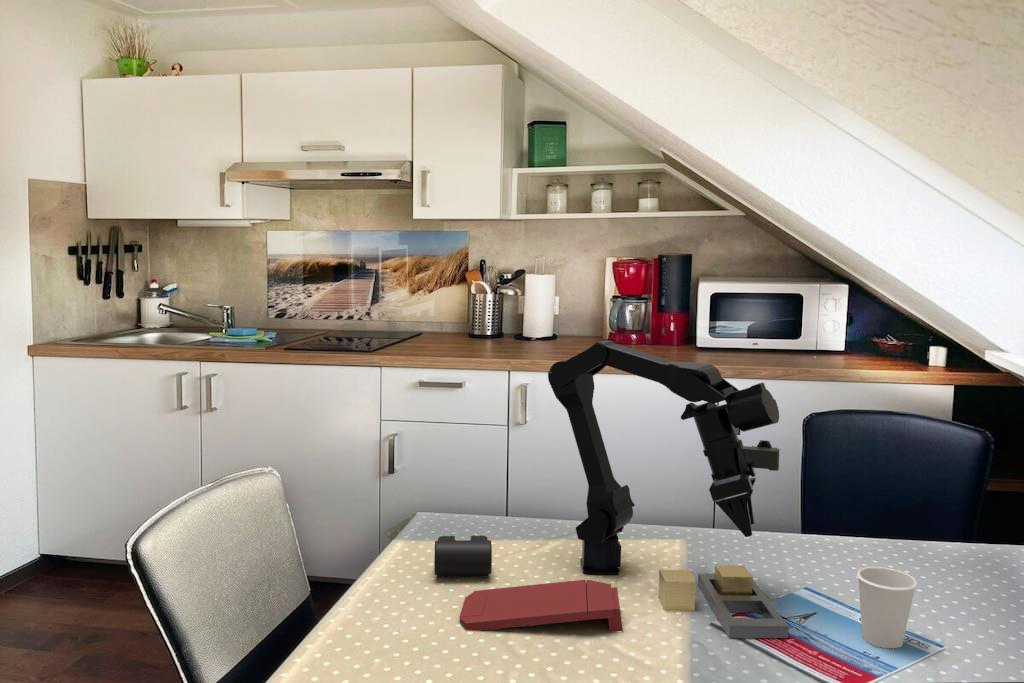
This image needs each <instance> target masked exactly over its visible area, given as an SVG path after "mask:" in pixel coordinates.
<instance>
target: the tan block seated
mask: <svg viewBox="0 0 1024 683" xmlns="http://www.w3.org/2000/svg"><path fill="white" fill-rule="evenodd" d="M714 574H715V575H714V589H715V590H716V592H717V593H718V595H743V596H752V583H753V580H754V579H753V578H754V577H753V575H752V574H751V573H750V571H749V570H748V569H747V568H746V566H745V565H742V564H741V565H739V564H738V565H737V564H735V565H732V564H730V565H729V564H723V565H721V564H720V565H719V564H714Z"/></svg>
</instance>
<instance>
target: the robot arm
mask: <svg viewBox="0 0 1024 683" xmlns="http://www.w3.org/2000/svg"><path fill="white" fill-rule="evenodd" d="M606 367H610V368H611V369H612V368H613V369H616V370H619V371H622V372H624V373H628V374H631V375H634V376H637V377H639V378H640V377H641V378H643V379H646V380H649V381H651V382H655V383H659V384H660V385H662V386H664V387H666V389H668V390H669V391H670V392H671V393H673V394H674V395H676V396H678V397H680V398H682V399H684V400H686V401H688V402H689V403H687V404H685V409H684V410H683V412H682V414H681V415H680V419H681V420H682V421H685V420H688V419H691V418H693V420H694V422H695V426H696V429H697V432H698V435H699V437H700V440H701V443H702V444H701V445H702V446H703V447H702V448H703V451H702V452H703V455H704V457H706V458H707V461H708V464H709V468H710V470H711V474H710V475H711V479H712V483H711V485H710V487H709V489H708V491H709V494H710V497H711V499H712V500H711V501H713V502H714V503H715V505H717V506H718V507H719V508H720V509H721V511H723V512H724V514H725V515H726V516H727V517H728V518H729V520H731V522H732V523H733V524H734V525H735V526H736V528H737V529H739V531H740V532H741V533H742V535H743V536H744V537H745V538H747V537H751V536H753V531H752V525H754V524H755V520H754V519H755V518H754V517H755V516H754V511H753V502H752V495H753V494H754V488H753V486H754V485H755V482H756V479H757V477H756V470H755V469H764V470H769V471H772V472H773V471H780V448H778V447H773V446H772V443H771V442H770V441H769V440H767V439H766V440H761V439H760V440H759V441H758V443H757V446H755V445H752V446H748V445H747V446H744V443H743V440H742V439H740V438H738V434H737V432H736V429H739V430H740V431H742V432H748V431H753V430H756V429H760V428H763V427H766V426H767V427H768V426H771V425H775V424H778V423H779V422H780V421H779V420H780V411H779V406H778V403H777V399H774V397H773V395H772V393H771V392H770V390H768V389H767V387H766V385H765V382H760V383H756V384H753V385H751V386H749V387H746V388H744V389H739V388H737V387H736V386H734V385H733V384H731V383H730V382H729V381H728V380H726V379H725V378H723V377H722V374H721V373H720V371H719V369H718V368H717V367H716V366H714V365H712V364H709V363H701V362H693V361H676V360H670V359H666V358H664V357H660V356H658V355H654V354H651V353H647V352H644V351H641V350H638V349H635V348H631V347H628V346H625V345H622V344H618V343H616V342H614V341H613V340H603V341H598V342H595V343H594V344H593V345H591V347H588V348H587V349H585V350H584V351H582V352H580V353H577V354H576V355H574V356H573V357H571V358H569V359H565V360H564V359H563V360H560V361H556V362H555V363H553V364H552V366H550V369H549V370H548V372H547V380H548V383H549V385H550V388H551V389H552V390H551V391H552V392H553V394H554V397H555V398H556V400H558V402H559V403H560V404H561V405H562V407H564V409H565V410H566V412H567V415H568V419H569V424H570V425H571V430H572V432H573V436H574V439H575V443H576V446H577V450H578V454H579V458H580V460H581V464H582V468H583V471H584V474H585V477H586V481H587V487H588V488H587V489H588V490H587V496H586V504H585V505H586V510H587V518H585V519H584V520H583V521H582V522H581V523H580V524H578V525H577V526H576V527H575V532H576V536H577V539H578V540H580V541H582V544H581V545H582V546H581V558H580V559H579V560H580V566H581V567H582V568H581V569H582V573H583V574H586V575H619V574H620V570H619V568H621V565H622V564H621V563H622V544H621V542H620V541H619V536H618V534H619V533H622V532H623V530H624V527H625V526H627V525H629V523H630V522H631V520H632V518H633V517H634V509H633V507H635V506H636V504H635V503H634V502H633V500H632V497H631V491H630V488H629V485H628V484H626V485H623V486H621V484H620V483H619V482H618V481H617V480H616V478H615V477H614V474H613V470H612V467H611V463H610V459H609V457H608V454H607V449H606V446H605V442H604V439H603V435H602V433H601V432H602V431H601V429H600V426H599V423H598V419H597V416H596V412H595V411H596V410H595V408H594V405H593V399H594V392H595V381H594V376H595V375H597V374H599V373H600V372H601V371H603V370H604V369H605V368H606ZM702 401H703V402H705V403H701V404H698V405H697V404H696V403H699V402H702ZM724 401H725V403H723V404H719V405H717V403H721V402H724ZM750 476H751V478H750Z"/></svg>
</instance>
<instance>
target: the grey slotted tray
mask: <svg viewBox="0 0 1024 683" xmlns="http://www.w3.org/2000/svg"><path fill="white" fill-rule="evenodd" d="M714 575H715V573H697V586H698V588H699V587H700V588H699V590H700V591H701V592H702V594H704V595H703V596H704V598H705V599H706V601H707V603H708V605H709V607H710V606H711V607H710V608H711V610H712V611H713V613H714V615H715V616H716V619H717V620H718V622H719V624H720V626H721V627H722V629H723V630H724V632H725V634H726V635H727V638H728V639H756V638H757V640H759V639H760V638H764V639H765V638H789V625H788V623H787V622H786V621H785V620H784V618H783V617H782V616H781V614H780V612H778V611H777V609H776V608H775V607H774V605H773V604H772V602H771V601H770V600H769V598H768V597H767V596H766V595H765V593H764V591H763V590H762V589H761V588H760V587H759V585H758V584H757V583H756V581H755V579H753V583H752V596H743V595H718V593H717V592H716V590H715V589H714ZM754 612H755V613H756V612H757V613H758V612H759V613H760V612H761V614H762V616H763V618H737V617H736V618H735V617H734V618H733V615H732V614H731V613H754ZM759 613H758V614H759ZM758 638H759V639H758Z"/></svg>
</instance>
